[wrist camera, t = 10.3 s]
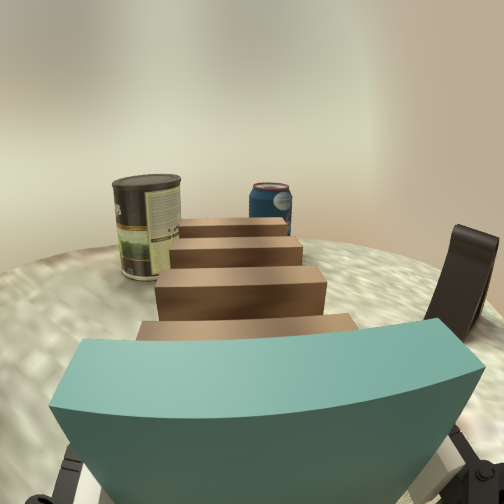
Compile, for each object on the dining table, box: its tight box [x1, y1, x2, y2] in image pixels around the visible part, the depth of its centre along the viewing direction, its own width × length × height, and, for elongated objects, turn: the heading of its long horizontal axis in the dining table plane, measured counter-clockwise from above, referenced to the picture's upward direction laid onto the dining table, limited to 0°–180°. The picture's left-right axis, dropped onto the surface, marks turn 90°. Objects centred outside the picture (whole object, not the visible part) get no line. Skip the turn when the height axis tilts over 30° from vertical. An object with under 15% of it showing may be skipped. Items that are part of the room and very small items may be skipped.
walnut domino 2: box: [169, 236, 303, 269], centre depth 27 cm, size 10×2×12 cm, turn 96°
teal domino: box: [49, 318, 486, 504], centre depth 9 cm, size 10×2×12 cm, turn 96°
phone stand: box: [424, 224, 499, 342], centre depth 32 cm, size 9×6×12 cm, turn 126°
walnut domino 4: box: [136, 313, 359, 341], centre depth 16 cm, size 10×2×12 cm, turn 96°
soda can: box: [249, 183, 292, 236], centre depth 53 cm, size 7×7×12 cm
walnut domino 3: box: [155, 265, 327, 321], centre depth 21 cm, size 10×2×12 cm, turn 96°
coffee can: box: [112, 174, 181, 281], centre depth 47 cm, size 10×10×14 cm
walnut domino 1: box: [178, 217, 287, 239], centre depth 32 cm, size 10×2×12 cm, turn 96°
